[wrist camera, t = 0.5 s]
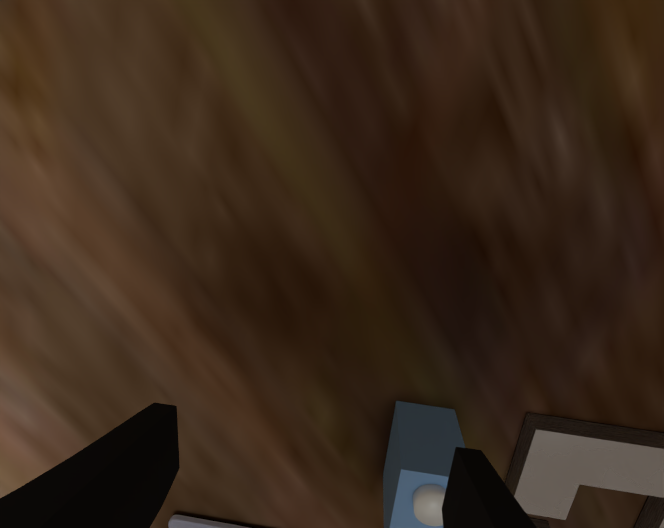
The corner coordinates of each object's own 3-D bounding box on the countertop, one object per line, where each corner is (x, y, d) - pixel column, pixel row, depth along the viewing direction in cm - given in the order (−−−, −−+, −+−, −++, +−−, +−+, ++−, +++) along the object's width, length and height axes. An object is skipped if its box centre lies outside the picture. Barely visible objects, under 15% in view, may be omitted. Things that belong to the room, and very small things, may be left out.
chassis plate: (650, 607, 23) (664, 632, 22) (476, 576, 24) (481, 598, 23) (738, 444, 19) (761, 463, 18) (526, 412, 20) (535, 429, 19)
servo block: (436, 482, 22) (453, 580, 17) (383, 473, 22) (384, 567, 17) (454, 408, 20) (478, 493, 16) (396, 399, 21) (401, 481, 16)
